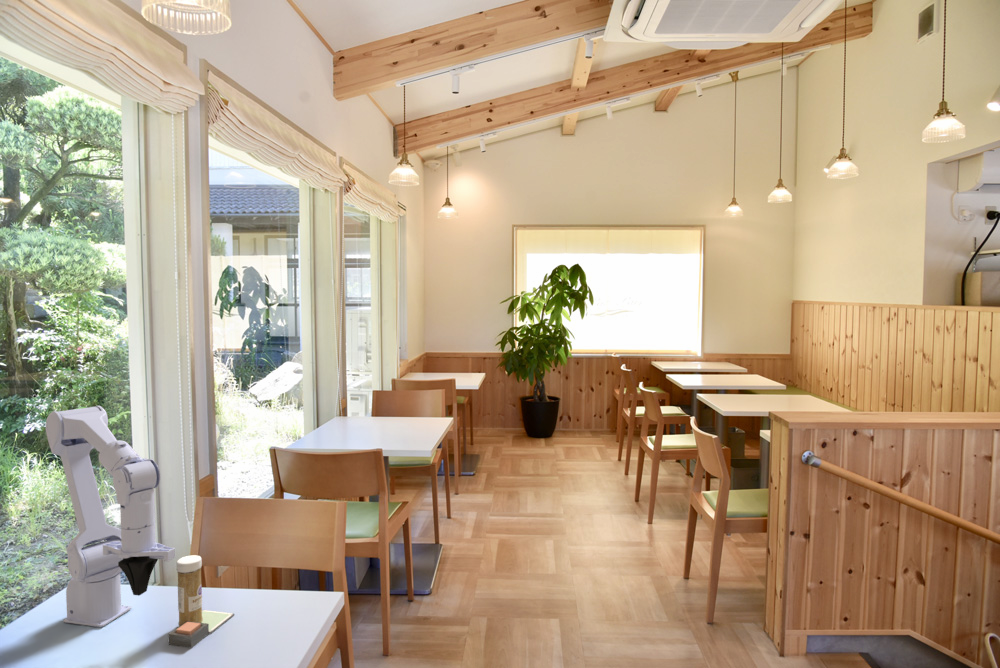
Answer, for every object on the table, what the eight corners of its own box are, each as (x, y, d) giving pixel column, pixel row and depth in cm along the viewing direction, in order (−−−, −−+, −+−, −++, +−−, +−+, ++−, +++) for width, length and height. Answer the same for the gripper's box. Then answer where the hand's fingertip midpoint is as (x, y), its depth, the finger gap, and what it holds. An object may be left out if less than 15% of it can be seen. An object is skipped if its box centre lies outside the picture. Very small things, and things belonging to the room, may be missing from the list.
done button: (176, 639, 121) (176, 629, 121) (187, 631, 124) (187, 621, 124) (190, 641, 121) (190, 631, 121) (200, 633, 124) (200, 623, 124)
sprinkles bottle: (201, 627, 126) (200, 561, 126) (176, 630, 125) (174, 564, 124) (204, 616, 131) (202, 553, 130) (179, 619, 129) (178, 555, 129)
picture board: (177, 629, 126) (177, 627, 126) (202, 611, 134) (202, 609, 134) (210, 634, 125) (210, 632, 125) (234, 615, 132) (234, 613, 132)
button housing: (168, 645, 121) (168, 634, 121) (186, 631, 126) (186, 620, 125) (191, 648, 120) (191, 637, 120) (208, 634, 125) (208, 623, 124)
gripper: (88, 528, 119) (91, 598, 119) (155, 534, 116) (157, 606, 117) (118, 516, 126) (120, 582, 126) (182, 521, 123) (183, 589, 123)
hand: (140, 592), depth 122 cm, fingers closed
